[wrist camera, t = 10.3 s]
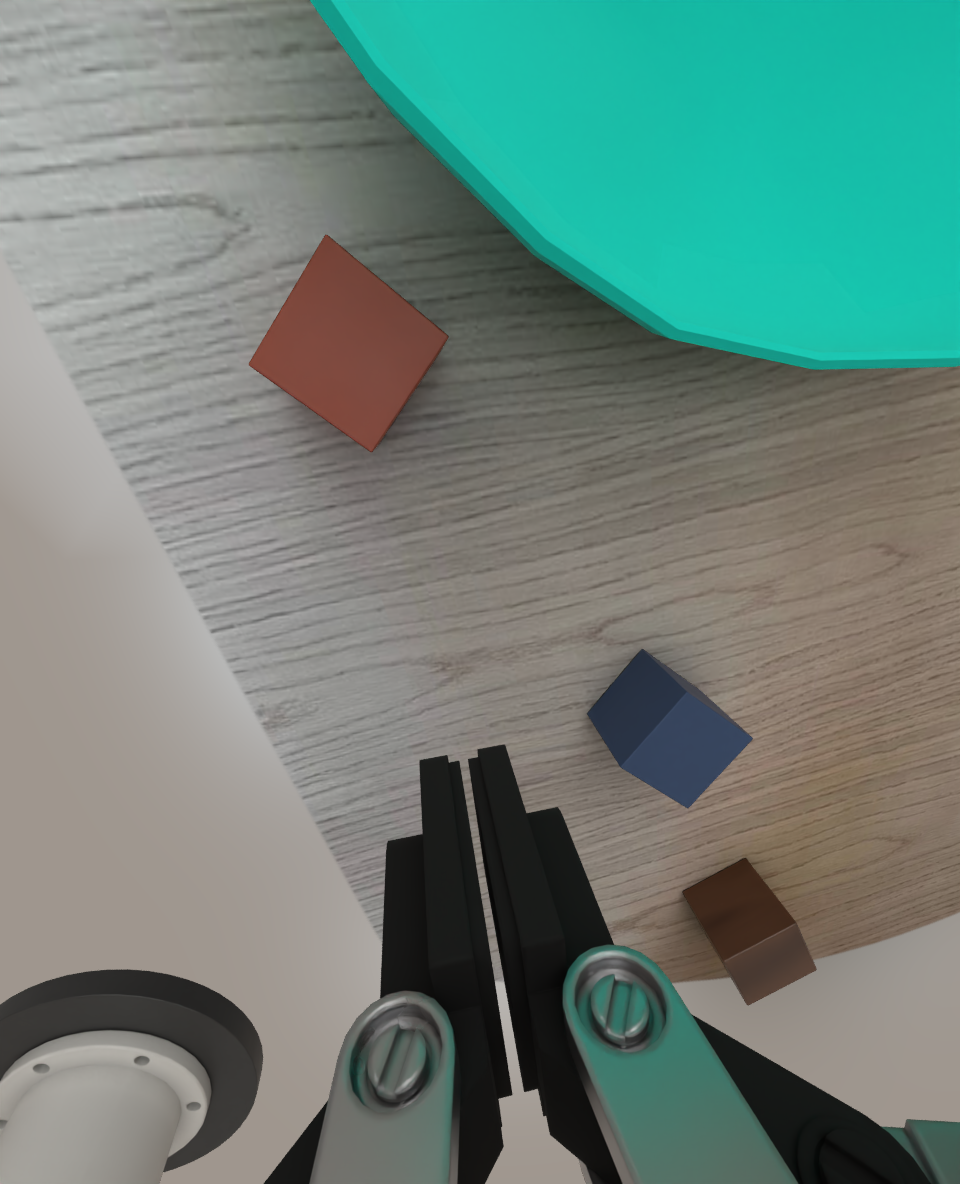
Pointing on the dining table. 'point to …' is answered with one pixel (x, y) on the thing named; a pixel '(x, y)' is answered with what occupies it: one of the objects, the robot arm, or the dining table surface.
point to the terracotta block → (348, 346)
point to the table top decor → (704, 157)
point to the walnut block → (750, 931)
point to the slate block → (666, 730)
